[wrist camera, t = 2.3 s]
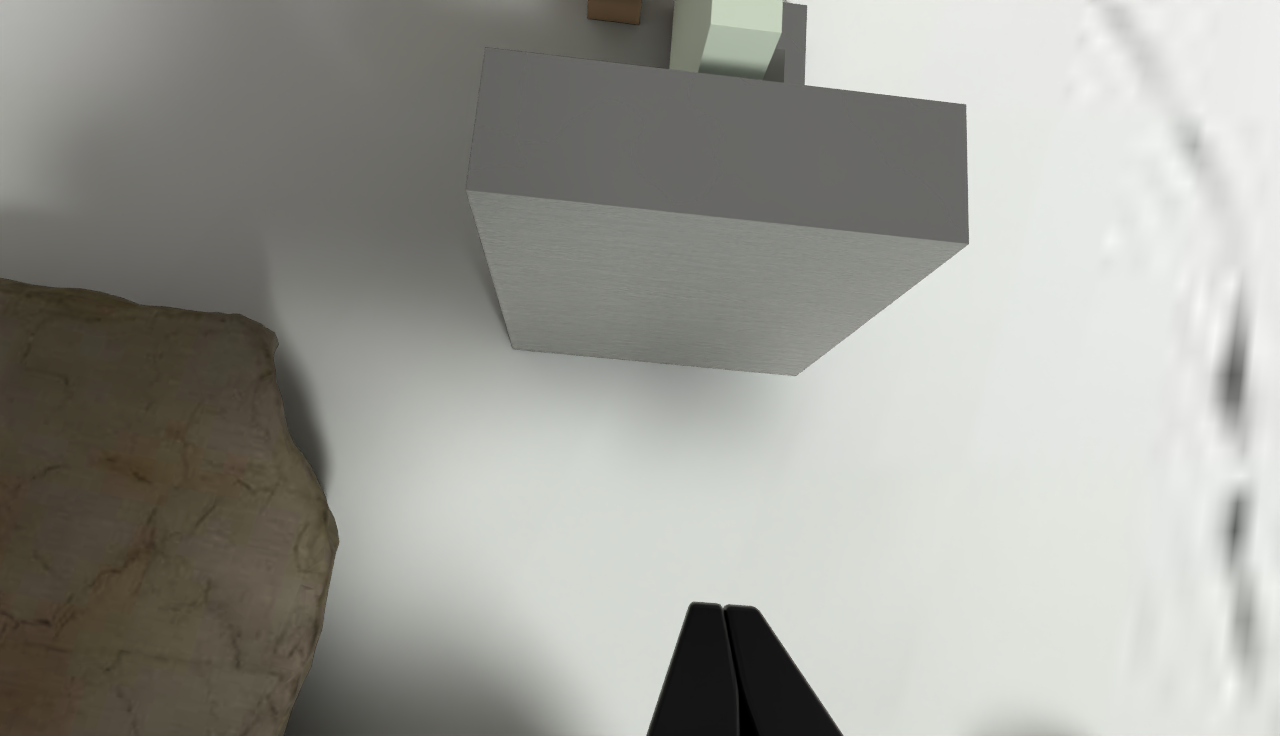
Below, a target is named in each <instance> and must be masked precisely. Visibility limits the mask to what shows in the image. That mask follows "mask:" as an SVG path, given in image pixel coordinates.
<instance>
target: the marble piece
mask: <svg viewBox="0 0 1280 736" xmlns="http://www.w3.org/2000/svg"><path fill="white" fill-rule="evenodd" d="M278 345H279V344H278V340H277V337H276V335H275V333H274V332H272V331H271V330H269V329H268V328H266V327H264V326H263V325H262V324H260V323H258V322H256V321H253V320H251V319H249V318H247V317H245V316H243V315H241V314H224V313H211V312H199V311H192V310H185V309H178V308H171V307H162V306H145V305H139V304H136V303H134V302H131V301H129V300H126V299H124V298H121V297H117V296H113V295H109V294H106V293H102V292H98V291H92V290H86V289H80V288H54V287H46V286H38V285H31V284H26V283H22V282H18V281H13V280H9V279H3V278H0V736H283V735H284V733H285V729H286V726H287V723H288V720H289V717H290V714H291V711H292V708H293V706H294V703H295V701H296V698H297V696H298V694H299V691H300V689H301V687H302V684H303V682H304V680H305V678H306V676H307V674H308V672H309V670H310V668H311V666H312V660H313V656H314V652H315V647H316V644H317V642H318V639H319V636H320V633H321V631H322V626H323V619H324V611H325V605H326V600H327V595H328V589H329V584H330V579H331V574H332V569H333V564H334V559H335V554H336V551H337V548H338V545H339V537H338V530H337V526H336V522H335V519H334V516H333V515H332V513H331V511H330V509H329V507H328V504H327V500H326V497H325V495H324V493H323V490H322V488H321V486H320V484H319V482H318V480H317V478H316V476H315V474H314V472H313V470H312V466H311V465H310V464H309V463H308V461H307V460H306V458H305V456H304V455H303V454H302V453H301V451H300V450H299V449H298V448H297V447H296V446H295V444H294V443H293V440H292V438H291V435H290V433H289V430H288V426H287V421H286V418H285V413H284V406H283V400H282V396H281V393H280V390H279V387H278V385H277V382H276V373H275V366H274V359H273V355H274V353H275V350H276V348H277V347H278Z"/></svg>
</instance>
